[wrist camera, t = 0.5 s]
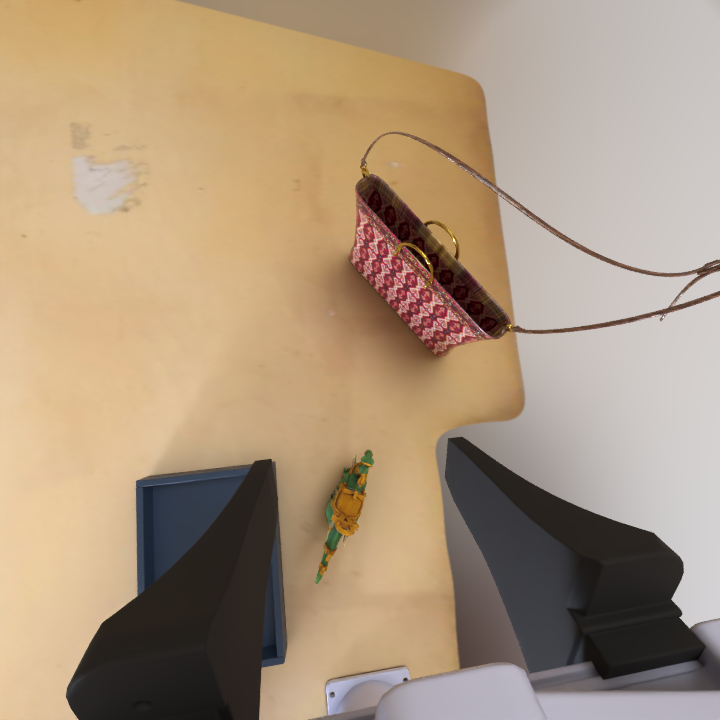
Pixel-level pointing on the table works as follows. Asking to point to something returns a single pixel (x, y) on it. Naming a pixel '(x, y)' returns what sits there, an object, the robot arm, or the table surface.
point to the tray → (188, 523)
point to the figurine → (345, 507)
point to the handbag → (447, 269)
